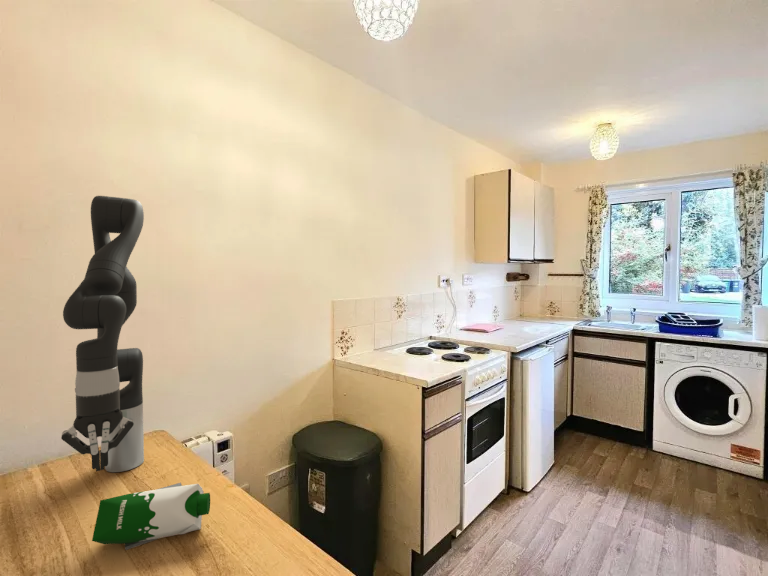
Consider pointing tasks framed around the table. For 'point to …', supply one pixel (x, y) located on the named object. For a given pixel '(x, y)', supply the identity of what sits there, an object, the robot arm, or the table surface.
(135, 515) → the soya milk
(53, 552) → the table surface
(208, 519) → the table surface
